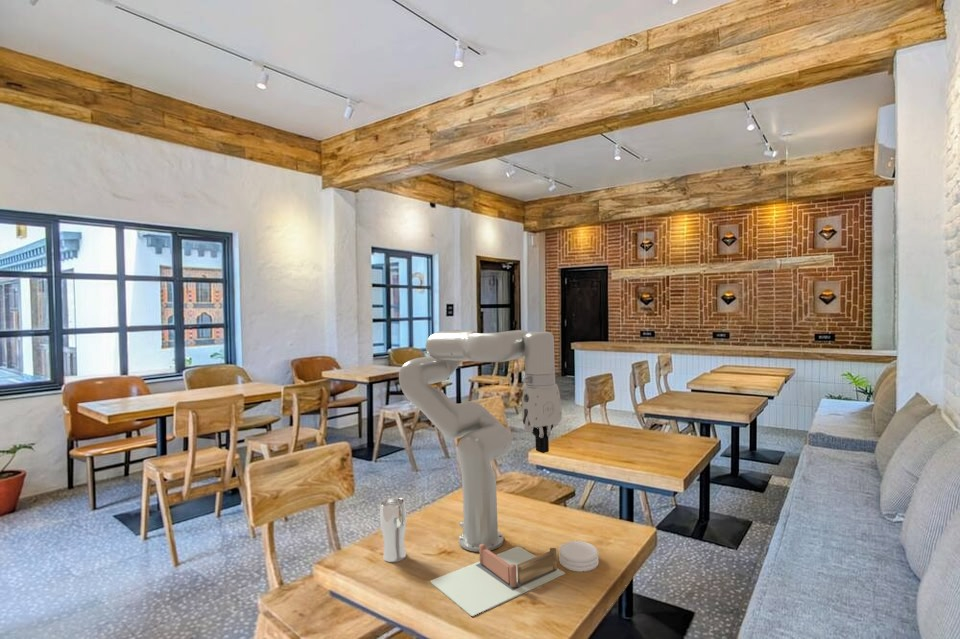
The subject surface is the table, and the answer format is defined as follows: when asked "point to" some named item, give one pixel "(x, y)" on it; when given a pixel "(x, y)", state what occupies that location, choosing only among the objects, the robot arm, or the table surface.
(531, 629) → the table surface
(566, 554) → the white short round cylinder
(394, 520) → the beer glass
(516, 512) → the table surface
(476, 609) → the board
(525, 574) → the fixed panel
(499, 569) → the panel
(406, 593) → the table surface
